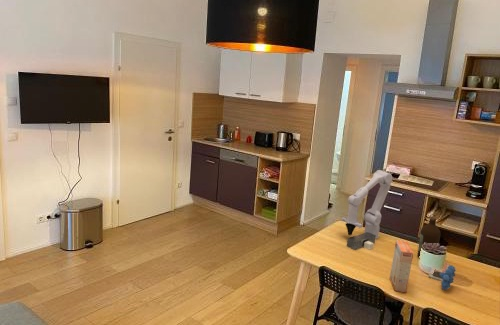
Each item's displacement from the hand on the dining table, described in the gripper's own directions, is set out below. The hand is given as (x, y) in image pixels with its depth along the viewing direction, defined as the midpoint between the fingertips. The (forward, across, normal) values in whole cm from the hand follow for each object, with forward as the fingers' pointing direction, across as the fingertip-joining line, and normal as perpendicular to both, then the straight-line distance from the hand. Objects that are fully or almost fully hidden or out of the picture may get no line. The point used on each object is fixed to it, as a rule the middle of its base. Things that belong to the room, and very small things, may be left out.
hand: (349, 234), depth 241 cm
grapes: (+3, +63, -5) cm, 63 cm away
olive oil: (+4, +40, +20) cm, 45 cm away
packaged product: (+4, +55, +8) cm, 55 cm away
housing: (+3, +9, 0) cm, 10 cm away
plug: (+3, +8, 0) cm, 9 cm away
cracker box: (+3, +49, -24) cm, 55 cm away
